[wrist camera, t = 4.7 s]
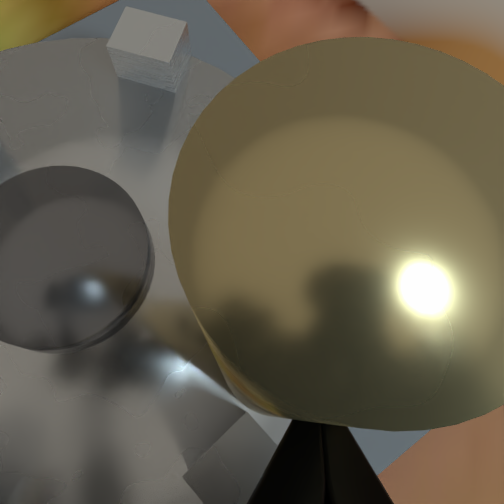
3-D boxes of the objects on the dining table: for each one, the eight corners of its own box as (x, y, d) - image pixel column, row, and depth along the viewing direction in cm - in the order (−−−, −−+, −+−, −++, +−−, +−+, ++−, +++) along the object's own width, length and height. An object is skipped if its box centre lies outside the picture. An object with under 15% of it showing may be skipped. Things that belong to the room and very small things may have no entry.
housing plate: (494, 359, 17) (521, 354, 15) (-30, 803, 13) (-68, 859, 11) (183, -2, 22) (178, -35, 20) (-268, 236, 18) (-319, 219, 16)
